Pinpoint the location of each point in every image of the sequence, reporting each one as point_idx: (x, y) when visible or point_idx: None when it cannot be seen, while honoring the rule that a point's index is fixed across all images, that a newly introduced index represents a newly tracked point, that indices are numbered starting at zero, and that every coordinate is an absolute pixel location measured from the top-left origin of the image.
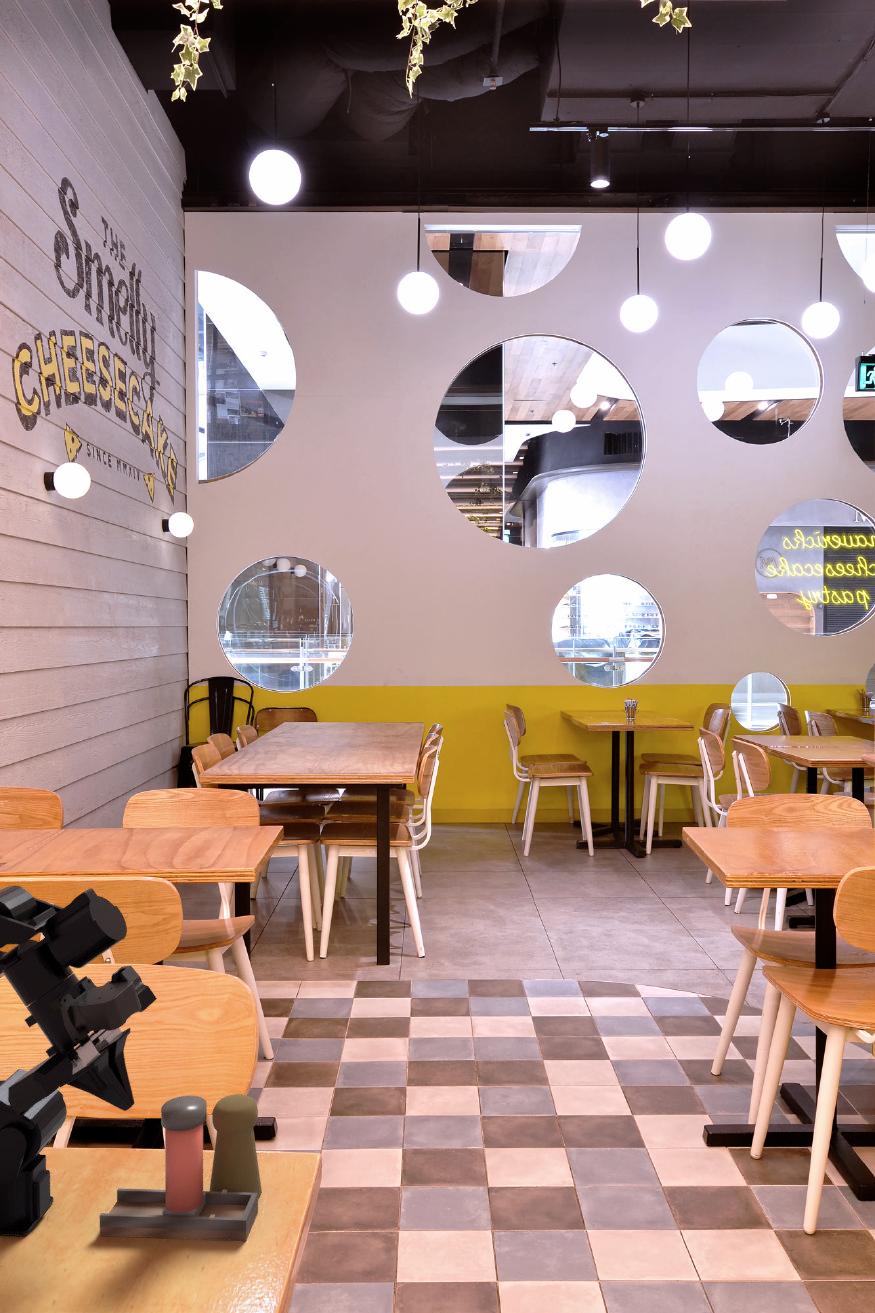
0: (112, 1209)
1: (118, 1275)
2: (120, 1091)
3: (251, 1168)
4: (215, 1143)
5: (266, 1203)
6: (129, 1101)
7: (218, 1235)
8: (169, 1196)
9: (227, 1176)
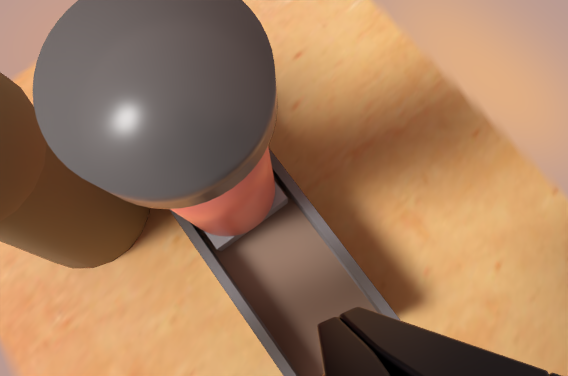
0: None
1: (426, 161)
2: (441, 354)
3: None
4: (52, 216)
5: None
6: (358, 322)
7: None
8: (273, 176)
9: None
